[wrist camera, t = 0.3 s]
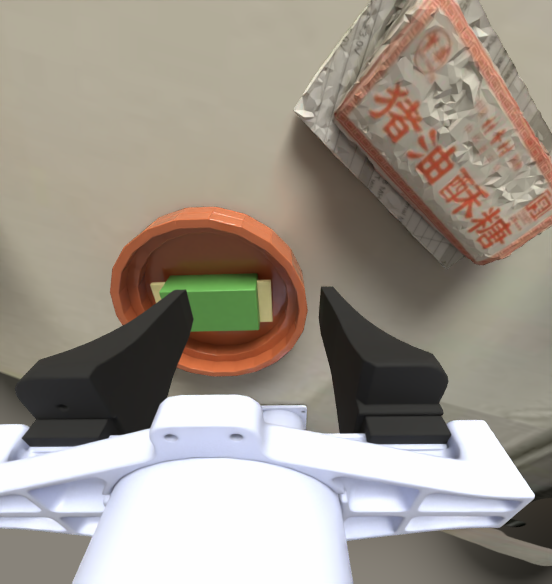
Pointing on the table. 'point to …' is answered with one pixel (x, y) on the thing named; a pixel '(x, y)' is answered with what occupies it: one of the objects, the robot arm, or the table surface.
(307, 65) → the table surface
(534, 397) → the table surface
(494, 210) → the packaged product
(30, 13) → the table surface
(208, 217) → the bowl
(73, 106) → the table surface
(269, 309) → the eraser with green sleeve
